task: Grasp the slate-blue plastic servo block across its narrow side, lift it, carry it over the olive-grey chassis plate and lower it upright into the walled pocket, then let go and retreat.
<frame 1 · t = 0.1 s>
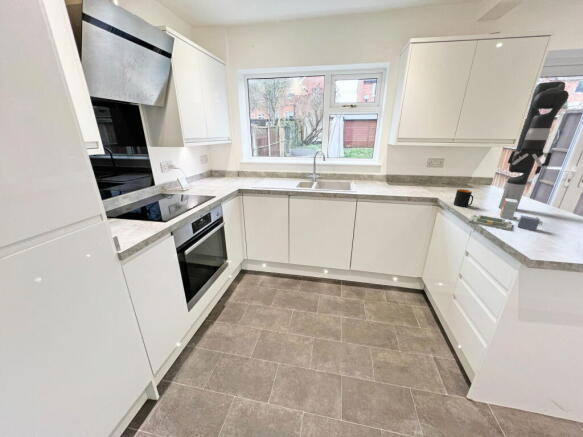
hand: (523, 173, 114), 29 cm above the worktop, fingers open, 8 cm apart
chassis: (489, 223, 130), on the worktop
servo: (526, 228, 124), on the worktop
mug: (462, 206, 161), on the worktop
small box: (505, 217, 141), on the worktop
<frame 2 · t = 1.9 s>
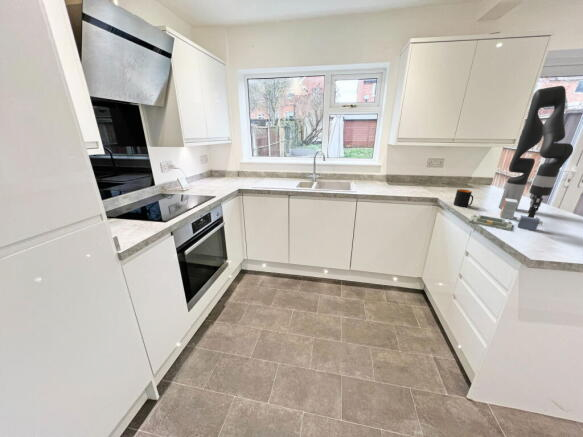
hand: (530, 215, 121), 7 cm above the worktop, fingers open, 8 cm apart
nothing on the worktop moved.
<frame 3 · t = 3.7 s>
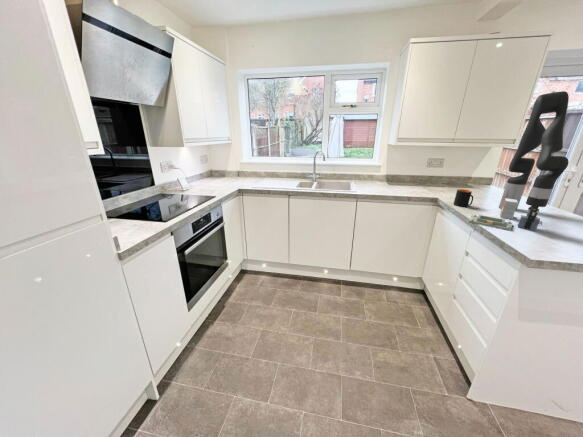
hand: (526, 227, 124), 1 cm above the worktop, fingers closed on servo, 4 cm apart
servo: (526, 228, 124), on the worktop, touching gripper
everything else where it was.
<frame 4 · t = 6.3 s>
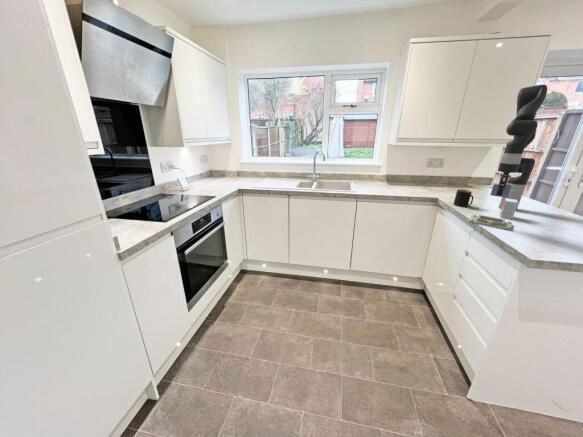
hand: (499, 194, 124), 17 cm above the worktop, fingers closed on servo, 4 cm apart
servo: (498, 195, 124), point 16 cm above the worktop, touching gripper
everything else where it was.
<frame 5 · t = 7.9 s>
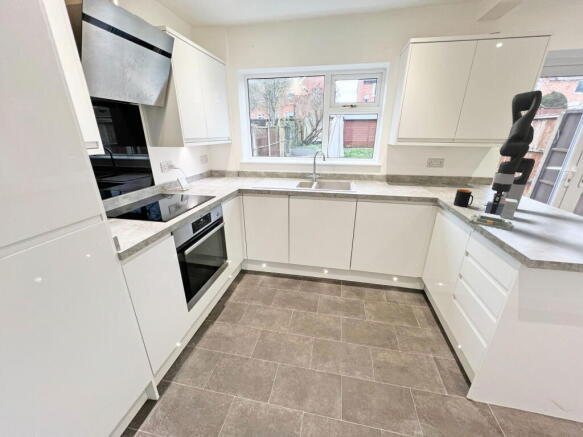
hand: (492, 212, 128), 6 cm above the worktop, fingers closed on servo, 4 cm apart
servo: (492, 213, 128), point 6 cm above the worktop, touching gripper
everything else where it was.
when the fingers open (3 cm above the worktop, at t = 9.3 s): servo drops 2 cm, resting on chassis.
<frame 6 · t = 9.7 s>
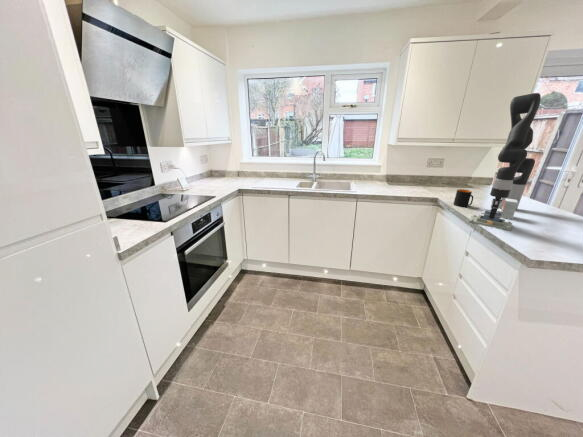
hand: (491, 216, 129), 4 cm above the worktop, fingers open, 7 cm apart
servo: (490, 221, 130), point 1 cm above the worktop, touching chassis
everything else where it was.
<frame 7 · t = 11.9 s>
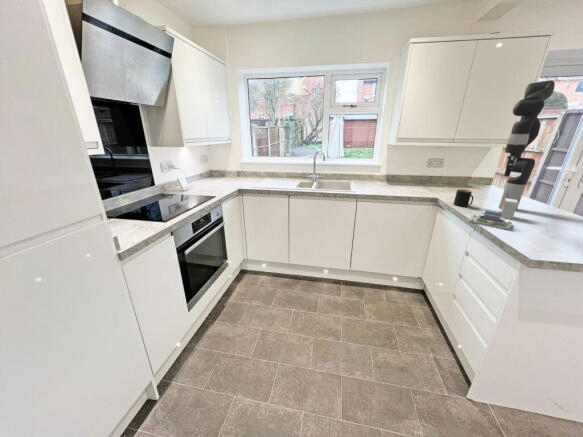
hand: (506, 174, 125), 27 cm above the worktop, fingers open, 8 cm apart
nothing on the worktop moved.
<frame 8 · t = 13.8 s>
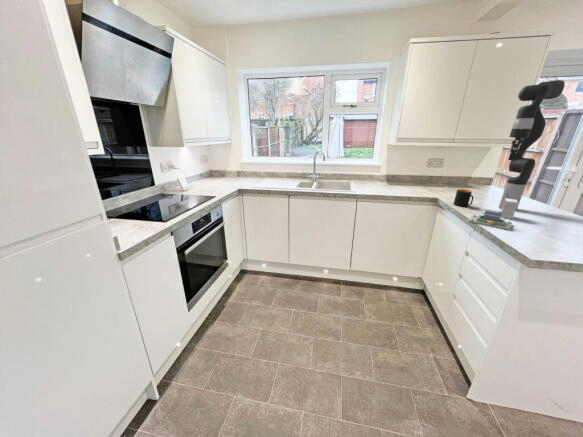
hand: (511, 159, 127), 34 cm above the worktop, fingers open, 8 cm apart
nothing on the worktop moved.
at the end: servo 0.1 cm off-centre on the chassis, point 1.0 cm above the chassis's base; servo tilted 0°; the gripper is holding nothing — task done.
